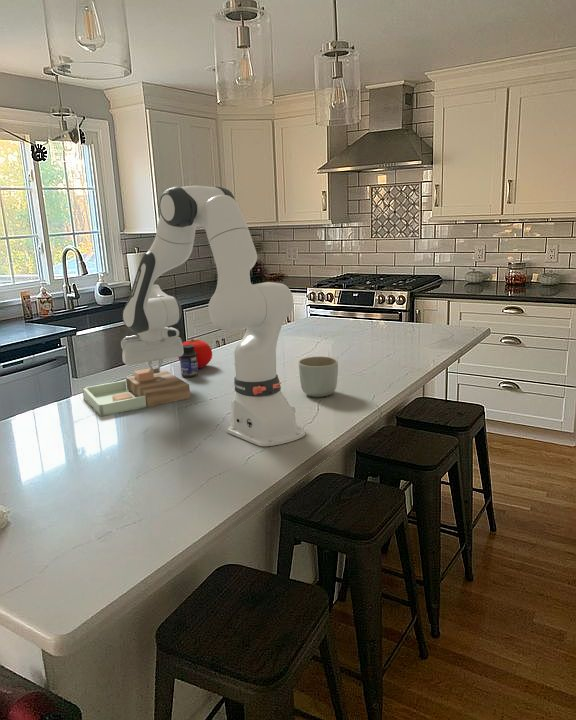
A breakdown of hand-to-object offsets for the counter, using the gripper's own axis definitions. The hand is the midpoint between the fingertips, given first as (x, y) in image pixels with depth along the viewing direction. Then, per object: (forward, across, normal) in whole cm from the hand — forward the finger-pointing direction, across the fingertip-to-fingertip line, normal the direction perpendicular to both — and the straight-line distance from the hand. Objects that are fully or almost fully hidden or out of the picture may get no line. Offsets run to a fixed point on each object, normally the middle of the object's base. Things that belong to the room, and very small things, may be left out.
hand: (155, 373), depth 199 cm
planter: (+6, +41, -38) cm, 56 cm away
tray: (+6, -16, -5) cm, 18 cm away
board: (+6, -1, -5) cm, 8 cm away
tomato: (+6, +21, +18) cm, 29 cm away
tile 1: (+3, -14, -10) cm, 18 cm away
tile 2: (+1, -4, 0) cm, 4 cm away
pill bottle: (+6, +16, +9) cm, 19 cm away
